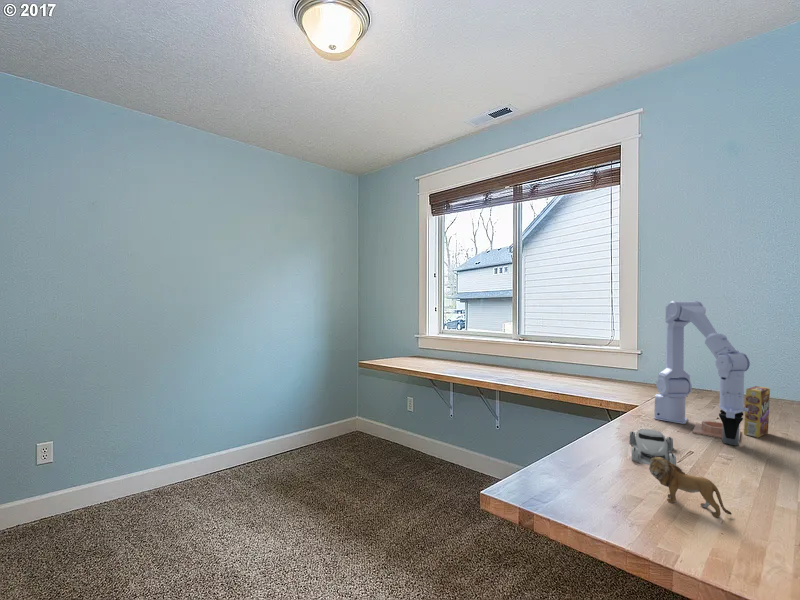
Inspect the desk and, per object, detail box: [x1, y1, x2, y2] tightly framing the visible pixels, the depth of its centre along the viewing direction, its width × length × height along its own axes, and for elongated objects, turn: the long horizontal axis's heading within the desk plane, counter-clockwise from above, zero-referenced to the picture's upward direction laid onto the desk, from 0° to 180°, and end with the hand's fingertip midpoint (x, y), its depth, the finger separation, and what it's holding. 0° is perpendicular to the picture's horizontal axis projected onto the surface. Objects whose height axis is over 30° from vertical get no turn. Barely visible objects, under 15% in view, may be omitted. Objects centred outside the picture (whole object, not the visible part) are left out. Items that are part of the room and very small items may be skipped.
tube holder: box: [692, 420, 741, 443], centre depth 138 cm, size 12×12×3 cm
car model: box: [629, 428, 677, 466], centre depth 121 cm, size 11×24×5 cm, turn 151°
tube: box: [721, 425, 740, 446], centre depth 127 cm, size 4×4×7 cm
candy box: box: [743, 385, 771, 439], centre depth 137 cm, size 9×4×15 cm, turn 123°
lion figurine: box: [648, 457, 732, 518], centre depth 89 cm, size 15×5×9 cm, turn 51°
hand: (730, 436), depth 127 cm, fingers closed on tube, 4 cm apart
